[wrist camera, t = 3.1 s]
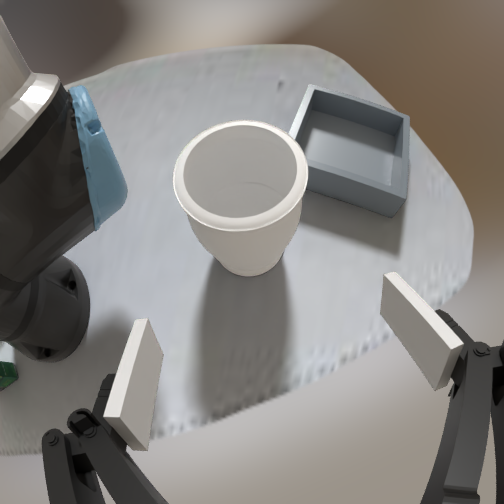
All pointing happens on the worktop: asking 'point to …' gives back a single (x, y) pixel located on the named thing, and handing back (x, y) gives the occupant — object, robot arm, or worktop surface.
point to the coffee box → (7, 374)
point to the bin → (354, 149)
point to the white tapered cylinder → (242, 192)
